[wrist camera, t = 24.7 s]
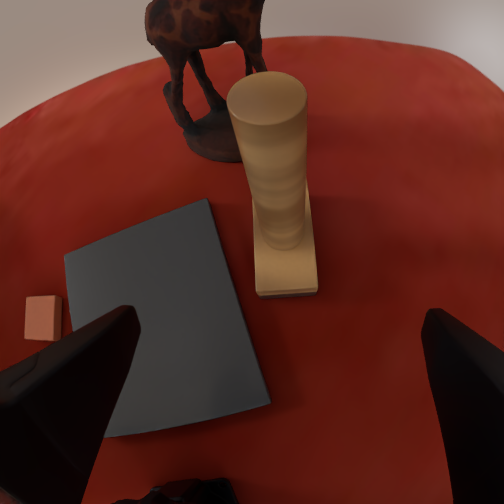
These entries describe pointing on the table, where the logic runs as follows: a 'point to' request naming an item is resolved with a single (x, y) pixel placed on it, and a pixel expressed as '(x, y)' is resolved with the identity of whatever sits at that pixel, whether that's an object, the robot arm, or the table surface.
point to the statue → (187, 48)
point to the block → (43, 318)
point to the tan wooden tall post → (276, 180)
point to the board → (171, 320)
